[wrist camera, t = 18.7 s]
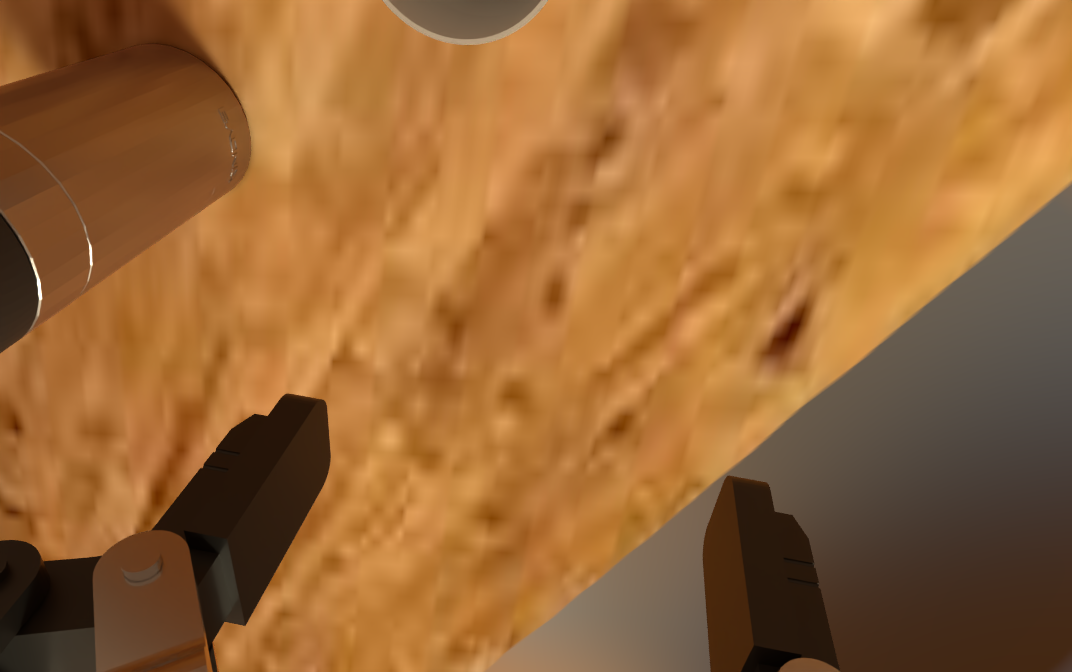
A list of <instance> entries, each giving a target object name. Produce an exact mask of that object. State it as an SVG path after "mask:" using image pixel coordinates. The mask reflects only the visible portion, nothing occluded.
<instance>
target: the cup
mask: <svg viewBox="0 0 1072 672" xmlns="http://www.w3.org/2000/svg"><path fill="white" fill-rule="evenodd" d="M547 1H548V0H383V2H384V3H385V4H386V5H387V6H388V7H389V8H390V10H391V11H392V12H393V13H394V14H396V15H397V16H398V17H399V18H400V19H401V20H402V21H404V22H405V23H406V24H408V25H409V26H411V27H412V28H414V29H415V30H417V31H419V32H420V33H422V34H424V35H426V36H429V37H431V38H433V39H436V40H439V41H443V42H447V43H452V44H459V45H476V44H484V43H488V42H492V41H496V40H499V39H501V38H504V37H506V36H508V35H510V34H512V33H514V32H515V31H517V30H519V29H520V28H522V27H523V26H524V25H526V24H527V23H528V22H529V21H530V20H531V19H532V18H534V17H535V16H536V15H537V13H538V12H539V11H540V10H541V9H542V8H543V6H544V5H545V4H546V2H547Z"/></svg>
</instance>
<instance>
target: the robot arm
mask: <svg viewBox="0 0 1072 672" xmlns="http://www.w3.org/2000/svg"><path fill="white" fill-rule="evenodd" d="M250 155H251V137H250V132H249V128H248V123H247V120H246V118H245V115H244V113H243V110H242V108H241V106H240V104H239V102H238V100H237V99H236V97H235V96H234V94H233V92H232V91H231V89H230V88H229V87H228V86H227V84H226V83H225V82H224V81H223V80H222V79H221V78H220V76H219V75H218V74H217V73H216V72H215V71H213V70H212V69H211V68H210V67H209V66H207V65H206V64H205V63H204V62H203V61H201V60H199V59H198V58H196V57H194V56H192V55H191V54H189V53H187V52H185V51H182V50H180V49H177V48H174V47H172V46H167V45H160V44H144V45H137V46H133V47H130V48H127V49H123V50H120V51H117V52H113V53H110V54H107V55H103V56H100V57H97V58H93V59H89V60H86V61H83V62H79V63H76V64H73V65H69V66H66V67H63V68H59V69H56V70H53V71H49V72H46V73H43V74H39V75H36V76H33V77H29V78H26V79H23V80H19V81H16V82H13V83H9V84H6V85H3V86H0V353H1V352H3V351H4V350H5V349H7V348H8V347H10V346H11V345H13V344H14V343H15V342H17V341H18V340H20V339H21V338H23V337H24V336H25V335H27V334H28V333H30V332H31V331H32V330H34V329H35V328H37V327H38V326H40V325H41V324H42V323H44V322H45V321H47V320H48V319H49V318H51V317H52V316H54V315H55V314H56V313H58V312H59V311H61V310H62V309H64V308H65V307H66V306H68V305H69V304H70V303H72V302H73V301H74V300H76V299H77V298H79V297H80V296H81V295H83V294H84V293H86V292H87V291H88V290H90V289H91V288H93V287H94V286H96V285H97V284H98V283H100V282H101V281H103V280H104V279H105V278H107V277H108V276H110V275H111V274H113V273H114V272H115V271H117V270H118V269H120V268H121V267H122V266H124V265H125V264H127V263H128V262H130V261H131V260H132V259H134V258H135V257H137V256H138V255H139V254H141V253H142V252H144V251H145V250H146V249H148V248H149V247H151V246H152V245H154V244H155V243H156V242H158V241H159V240H161V239H162V238H163V237H165V236H166V235H168V234H169V233H171V232H172V231H173V230H175V229H176V228H178V227H179V226H180V225H182V224H183V223H185V222H186V221H188V220H189V219H190V218H192V217H193V216H195V215H196V214H198V213H199V212H201V211H202V210H203V209H205V208H206V207H208V206H209V205H210V204H212V203H213V202H215V201H216V200H217V199H219V198H220V197H222V196H223V195H225V194H226V193H227V192H229V191H230V190H232V189H233V188H234V187H235V186H236V185H237V184H238V183H239V182H240V181H241V180H242V178H243V176H244V174H245V172H246V170H247V168H248V165H249V160H250ZM330 458H331V454H330V440H329V427H328V414H327V405H326V402H325V401H324V400H321V399H316V398H310V397H305V396H299V395H294V394H285V395H284V396H282V398H281V399H280V400H279V401H278V403H277V404H276V405H275V407H274V408H273V410H272V411H271V412H270V414H269V415H268V416H264V415H258V414H254V415H252V416H251V417H249V418H248V419H246V420H244V421H243V422H241V423H240V424H238V425H237V426H235V427H234V428H232V429H231V430H230V431H229V433H228V434H227V435H226V436H225V438H224V439H223V440H222V441H221V443H220V444H219V445H218V447H217V448H216V452H213V453H212V454H211V455H210V457H209V458H208V459H207V461H206V462H205V463H204V466H203V468H200V469H199V471H198V472H197V473H196V475H195V476H194V477H193V478H192V480H191V481H190V482H189V483H188V485H187V486H186V487H185V489H184V490H183V491H182V492H181V494H180V495H179V496H178V497H177V499H176V500H175V501H174V503H173V504H172V505H171V506H170V508H169V509H168V510H167V511H166V513H165V514H164V515H163V517H162V518H161V519H160V520H159V522H158V523H157V524H156V525H155V526H154V528H153V529H152V530H151V531H145V532H141V533H137V534H134V535H131V536H129V537H127V538H125V539H123V540H121V541H119V542H118V543H116V544H115V545H113V546H112V547H111V548H109V549H108V550H107V551H106V552H105V553H104V554H103V555H102V556H97V557H89V558H78V559H66V560H54V561H43V560H42V558H41V556H40V553H39V552H38V550H37V549H36V548H35V547H34V546H33V545H31V544H29V543H27V542H23V541H18V540H4V541H0V672H219V669H218V663H217V658H216V652H215V647H214V643H213V640H214V639H215V637H216V635H217V633H218V632H219V630H220V628H221V627H222V625H223V623H224V622H229V623H234V624H239V625H244V626H245V625H246V624H247V622H248V620H249V618H250V616H251V615H252V613H253V611H254V609H255V608H256V606H257V604H258V602H259V600H260V599H261V597H262V595H263V593H264V591H265V590H266V588H267V586H268V584H269V582H270V581H271V579H272V577H273V575H274V573H275V572H276V570H277V568H278V566H279V564H280V563H281V561H282V559H283V557H284V555H285V554H286V552H287V550H288V548H289V546H290V545H291V543H292V541H293V539H294V538H295V536H296V534H297V532H298V530H299V529H300V527H301V525H302V523H303V521H304V520H305V518H306V516H307V514H308V512H309V511H310V509H311V507H312V505H313V503H314V502H315V500H316V498H317V496H318V494H319V493H320V491H321V489H322V487H323V485H324V483H325V481H326V478H327V475H328V471H329V466H330ZM703 568H704V582H705V595H706V596H705V597H706V612H707V625H708V640H709V654H710V666H711V672H841V671H840V668H839V665H838V662H837V658H836V653H835V649H834V645H833V641H832V636H831V633H830V628H829V624H828V619H827V615H826V611H825V607H824V602H823V598H822V594H821V590H820V589H819V588H818V586H819V581H818V577H817V573H816V569H815V568H814V560H813V556H812V552H811V547H810V543H809V539H808V537H807V536H806V534H805V533H804V531H803V530H802V529H801V527H800V526H799V524H798V523H797V521H796V520H795V518H794V517H793V515H788V514H784V513H778V512H775V511H774V506H773V501H772V496H771V491H770V487H769V485H768V484H767V483H766V482H761V481H755V480H750V479H745V478H739V477H734V476H727V477H726V479H725V480H724V483H723V486H722V488H721V491H720V494H719V496H718V499H717V502H716V504H715V507H714V510H713V513H712V515H711V518H710V521H709V523H708V526H707V529H706V533H705V538H704V545H703Z"/></svg>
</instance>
